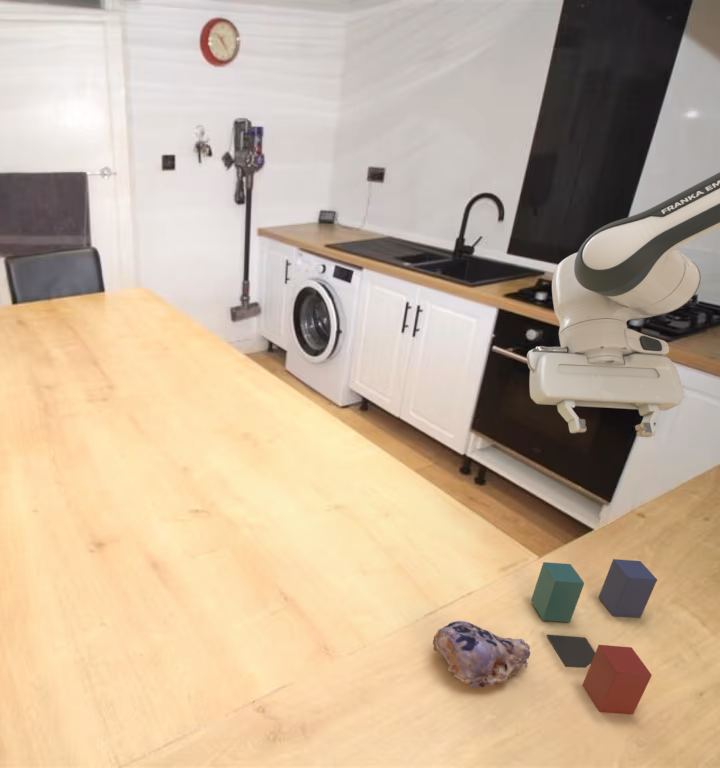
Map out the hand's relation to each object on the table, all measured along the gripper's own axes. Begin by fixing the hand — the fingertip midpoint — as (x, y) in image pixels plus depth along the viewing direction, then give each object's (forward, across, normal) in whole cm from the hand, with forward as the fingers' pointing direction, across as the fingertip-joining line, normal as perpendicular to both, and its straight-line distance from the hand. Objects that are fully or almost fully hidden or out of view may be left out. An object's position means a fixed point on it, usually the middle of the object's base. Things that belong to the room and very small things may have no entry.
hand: (612, 434), depth 79 cm
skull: (+32, -23, -2) cm, 40 cm away
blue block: (+24, 0, +6) cm, 24 cm away
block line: (+30, -10, 0) cm, 31 cm away
